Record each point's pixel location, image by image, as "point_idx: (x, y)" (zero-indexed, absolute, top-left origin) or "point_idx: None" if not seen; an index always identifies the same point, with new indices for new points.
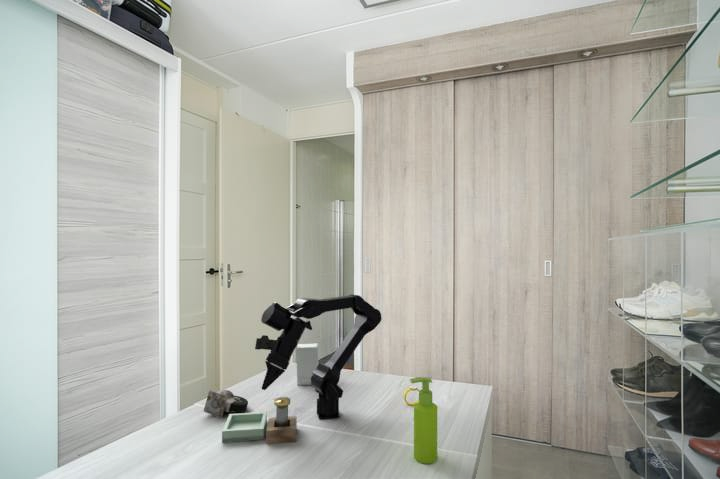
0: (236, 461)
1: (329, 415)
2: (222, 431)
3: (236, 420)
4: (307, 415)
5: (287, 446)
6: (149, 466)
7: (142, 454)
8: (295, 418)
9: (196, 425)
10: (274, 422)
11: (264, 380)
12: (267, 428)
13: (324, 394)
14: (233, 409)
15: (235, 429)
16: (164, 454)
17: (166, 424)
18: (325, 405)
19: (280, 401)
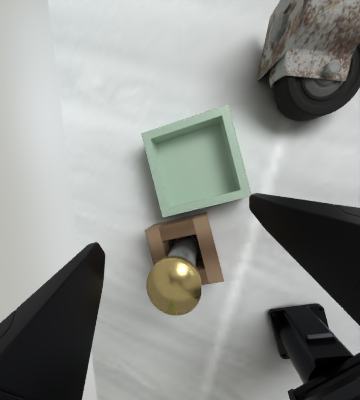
0: (98, 194)
1: (279, 338)
2: (141, 134)
3: (222, 131)
4: (288, 280)
5: (150, 263)
6: (70, 67)
7: (97, 26)
8: (211, 280)
9: (211, 48)
10: (188, 234)
11: (48, 283)
12: (155, 229)
13: (327, 385)
14: (278, 94)
15: (152, 158)
16: (102, 64)
17: None
18: (293, 353)
19: (159, 284)
